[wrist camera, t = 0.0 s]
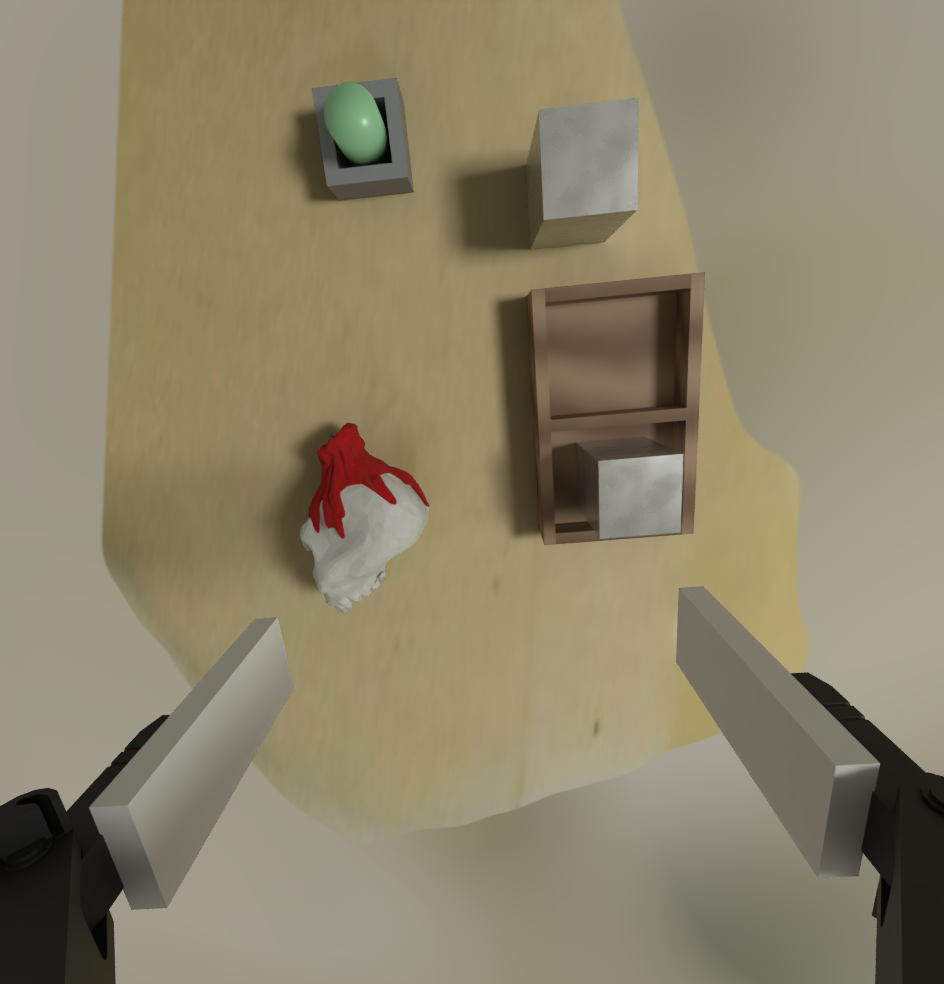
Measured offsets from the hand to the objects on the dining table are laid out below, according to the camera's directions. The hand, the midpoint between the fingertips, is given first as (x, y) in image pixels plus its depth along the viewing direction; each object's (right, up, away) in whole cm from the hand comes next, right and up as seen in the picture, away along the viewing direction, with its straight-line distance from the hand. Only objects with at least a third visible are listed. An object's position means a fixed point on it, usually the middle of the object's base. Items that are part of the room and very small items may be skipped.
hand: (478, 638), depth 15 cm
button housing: (-8, +31, +20) cm, 38 cm away
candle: (-10, +4, +28) cm, 30 cm away
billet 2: (+12, +7, +26) cm, 29 cm away
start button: (-8, +31, +18) cm, 37 cm away
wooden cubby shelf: (+12, +12, +26) cm, 31 cm away
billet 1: (+7, +28, +21) cm, 36 cm away
